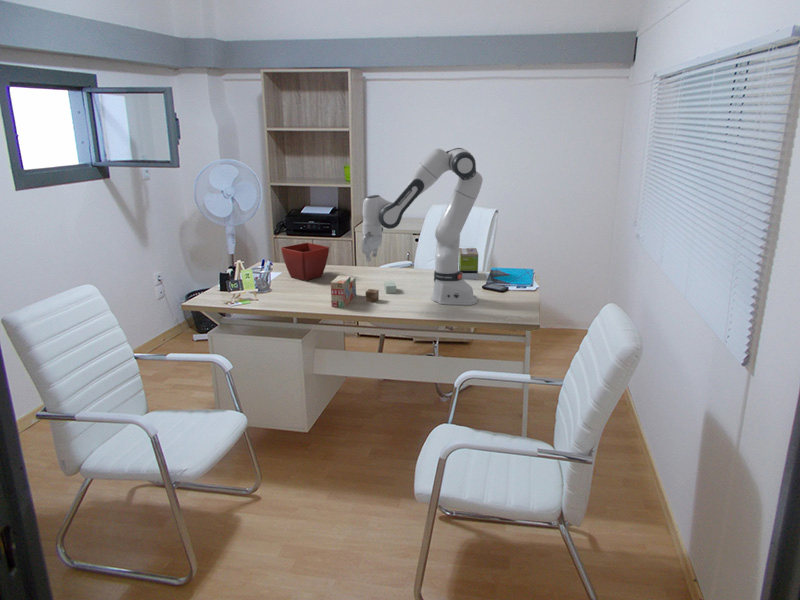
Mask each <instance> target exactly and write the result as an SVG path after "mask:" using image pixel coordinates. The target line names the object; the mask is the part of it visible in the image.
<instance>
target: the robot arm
mask: <svg viewBox="0 0 800 600" xmlns="http://www.w3.org/2000/svg"><path fill="white" fill-rule="evenodd" d="M476 165H477V163H476V160H475V156H473V154H472V153H471V152H470V151H468V150H467V149H464V148H461V147H456V148H453V149H450V150H447V151H445V150H443V149H442V148H435V149H433V150H432V151H431V152H429V153H428V154H427V155H426V156H425V157H423V159H422V160H421V161H420V162H419V163H418V165H416V166H415V169H414V170H413V171H412V173H411V175H410V178H409V180H408V183H407V185H406V186H405V188H404V189H403V191H402V192H401V193H400V195H399V196H398V197H397V198H396V199H395V200H394V201H393V202H392V201H389V200H387V199H385V198H383V197H382V196H381V195H379V194H374V195H368V196H367V197H365V198H364V200H363V204H362V219H363V220H362V230H361V231H362V235H364V236H363V237H362V240H361V253H362V254H364V255H365V259H366V260H365V261H366V262H368V263H369V262H371V260H372V258H376V257H377V256H378V254H377V253H378V250H379V247H381V245H382V240H383V232H384V228H385V229H389V230H390V229H391V230H392V229H396V228H397V227H398V226H399V225H400V223H401V221H402V217H403V215H404V213H405V212H406V211H407V209H408V208H409V207H410V205H412V203H413V202H414V201H415V200H416V199H417V198H418V197H419V196H421V194H423V193H425V192H426V191H427V190H428V189H429V188H430V187H432V185H434V184H435V183H436V182H437V181H438V180H439V179H440V178H441V176H443V174H445V173H446V172H448V171H451V172H452V173H454V174H455V175H456V176H457V177H458V180H457V183H456V185H455V187H454V189H453V191H452V194H451V195H450V198H449V201H448V202H447V205H446V207H445V209H444V211H443V213H442V215H441V218H440V220H439V222H438V223H437V226H436V228H435V231H434V232H435V233H434V235H435V236H434V237H435V239H436V249H435V266H434V267H435V269H434V272H433V282H434V285H433V290H432V291H433V292H432V295H431V298H430V300H432V301H434V302H436V303H438V304H440V305H449V306H451V305H454V306H456V305H457V306H459V305H460V306H462V305H463V306H473V305H475V304H477V302H478V298H479V297H478V296H477V295H475V294H474V290H473V287H472V285H470V284H469V283H468V282H466V281H465V280H463V279H462V272H459V248H460V240H461V239H460V238H461V233H462V231H463V228H464V226H465V224H466V221H467V219H469V218H468V217H469V215H470V213H471V212H472V211H471V210H472V208H473V207H474V205H475V202H476V200H477V198H478V197H479V196H478V195H479V194H480V190H481V188H482V186H483V185H482V184H483V177H482V174H480V173H479V172H478V171H477V166H476ZM371 255H372V257H371Z"/></svg>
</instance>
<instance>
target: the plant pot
mask: <svg viewBox="0 0 800 600" xmlns="http://www.w3.org/2000/svg"><path fill="white" fill-rule="evenodd" d="M280 249H281V254H282V257H283V261H284V264H285V266H286V269H287V272H288V274H289V276H290V278H292V279H293V278H294V279H297V280H300V281H310V280H312V279H313V280H314V279H318V278H322V277H323V275H324V272H325V269H326V265H327V262H328V257H329V251H330V247H329V246H326V245H320V244H316V243H311V242H303V243H297V244H294V245H293V244H292V245H288V246H287V245H285V246H281V248H280Z"/></svg>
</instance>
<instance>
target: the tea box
mask: <svg viewBox="0 0 800 600" xmlns="http://www.w3.org/2000/svg"><path fill="white" fill-rule="evenodd" d="M458 271H459V272H462V279H477V280H478V275H479V274H478V273H479V252H478V250H477V248H476V247H459V262H458Z"/></svg>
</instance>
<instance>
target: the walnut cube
mask: <svg viewBox="0 0 800 600" xmlns="http://www.w3.org/2000/svg"><path fill="white" fill-rule="evenodd" d="M379 297H380V296H379V289H372V288H368V289H367V290H365V302H366V303H377V302H378V301H379Z"/></svg>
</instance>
